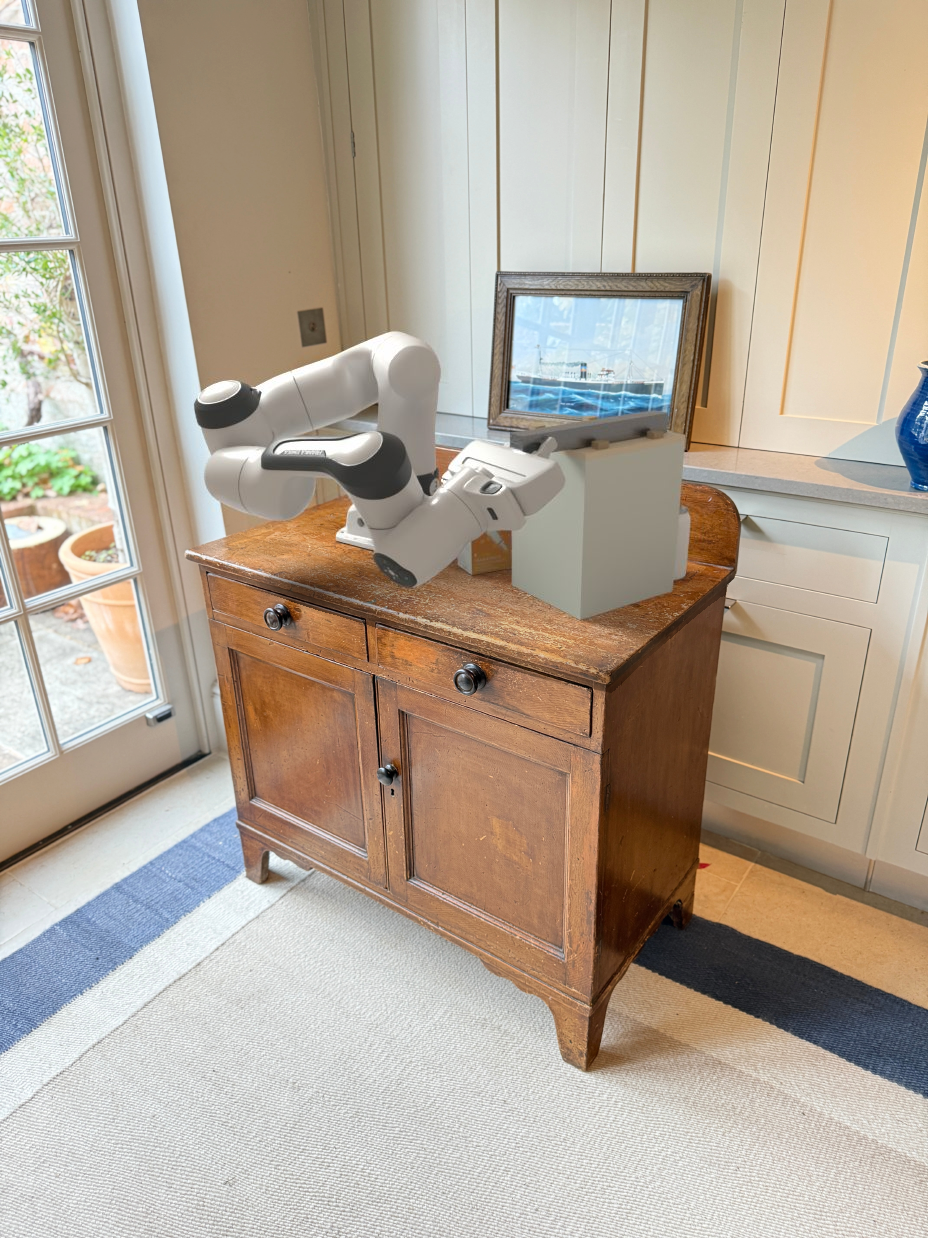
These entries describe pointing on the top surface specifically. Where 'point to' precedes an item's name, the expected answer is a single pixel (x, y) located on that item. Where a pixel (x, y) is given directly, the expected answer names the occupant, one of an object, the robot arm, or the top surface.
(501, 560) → the small box
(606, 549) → the stand
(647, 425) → the long grey bar
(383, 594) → the top surface
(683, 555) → the can
